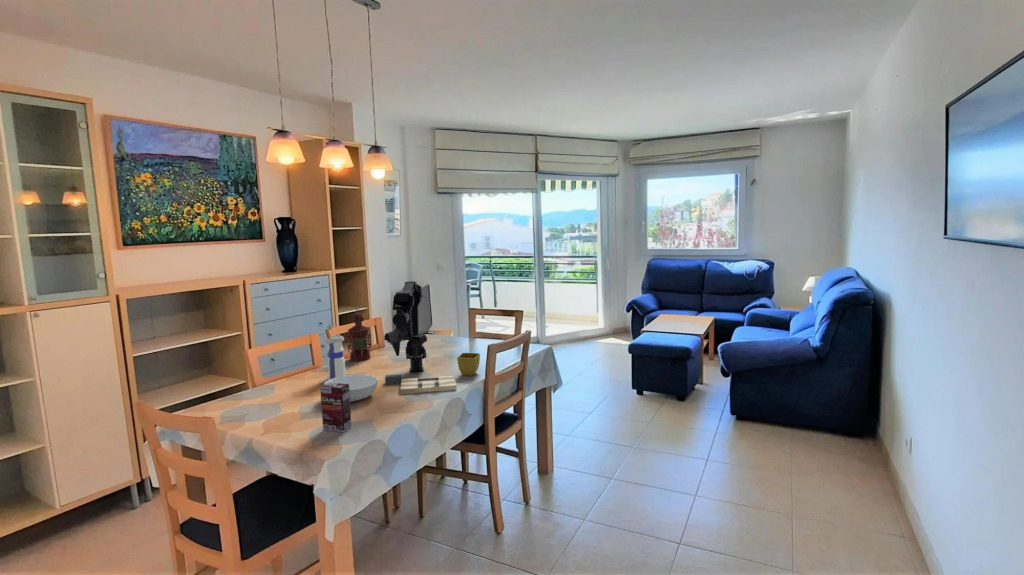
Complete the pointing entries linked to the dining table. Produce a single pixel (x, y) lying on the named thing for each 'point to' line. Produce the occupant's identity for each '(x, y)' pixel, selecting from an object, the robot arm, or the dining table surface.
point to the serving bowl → (357, 385)
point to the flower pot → (468, 363)
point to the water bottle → (335, 356)
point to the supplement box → (335, 407)
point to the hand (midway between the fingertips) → (406, 357)
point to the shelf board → (428, 384)
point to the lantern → (359, 339)
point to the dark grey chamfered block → (393, 379)
